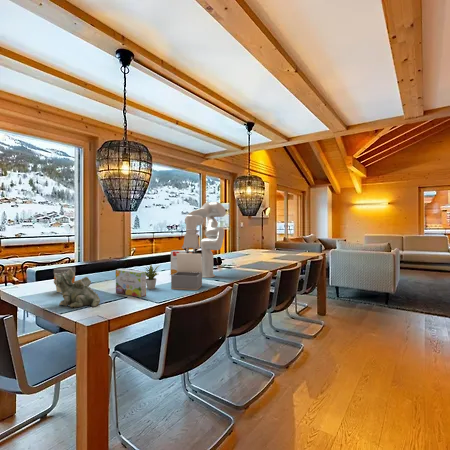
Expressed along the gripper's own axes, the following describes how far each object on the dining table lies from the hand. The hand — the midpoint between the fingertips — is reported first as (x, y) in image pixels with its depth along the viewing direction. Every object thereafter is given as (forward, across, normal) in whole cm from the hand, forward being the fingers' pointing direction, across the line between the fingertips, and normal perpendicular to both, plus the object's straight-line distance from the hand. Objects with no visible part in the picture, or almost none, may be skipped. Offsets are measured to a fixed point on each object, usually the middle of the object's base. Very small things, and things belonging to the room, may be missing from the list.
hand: (190, 257), depth 213 cm
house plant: (+20, +23, +15) cm, 34 cm away
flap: (+4, 0, +4) cm, 6 cm away
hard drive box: (+19, +18, -36) cm, 45 cm away
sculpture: (+22, +48, +58) cm, 79 cm away
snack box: (+21, +29, +34) cm, 49 cm away
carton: (+20, 0, +9) cm, 22 cm away
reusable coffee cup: (+21, +74, +34) cm, 84 cm away
